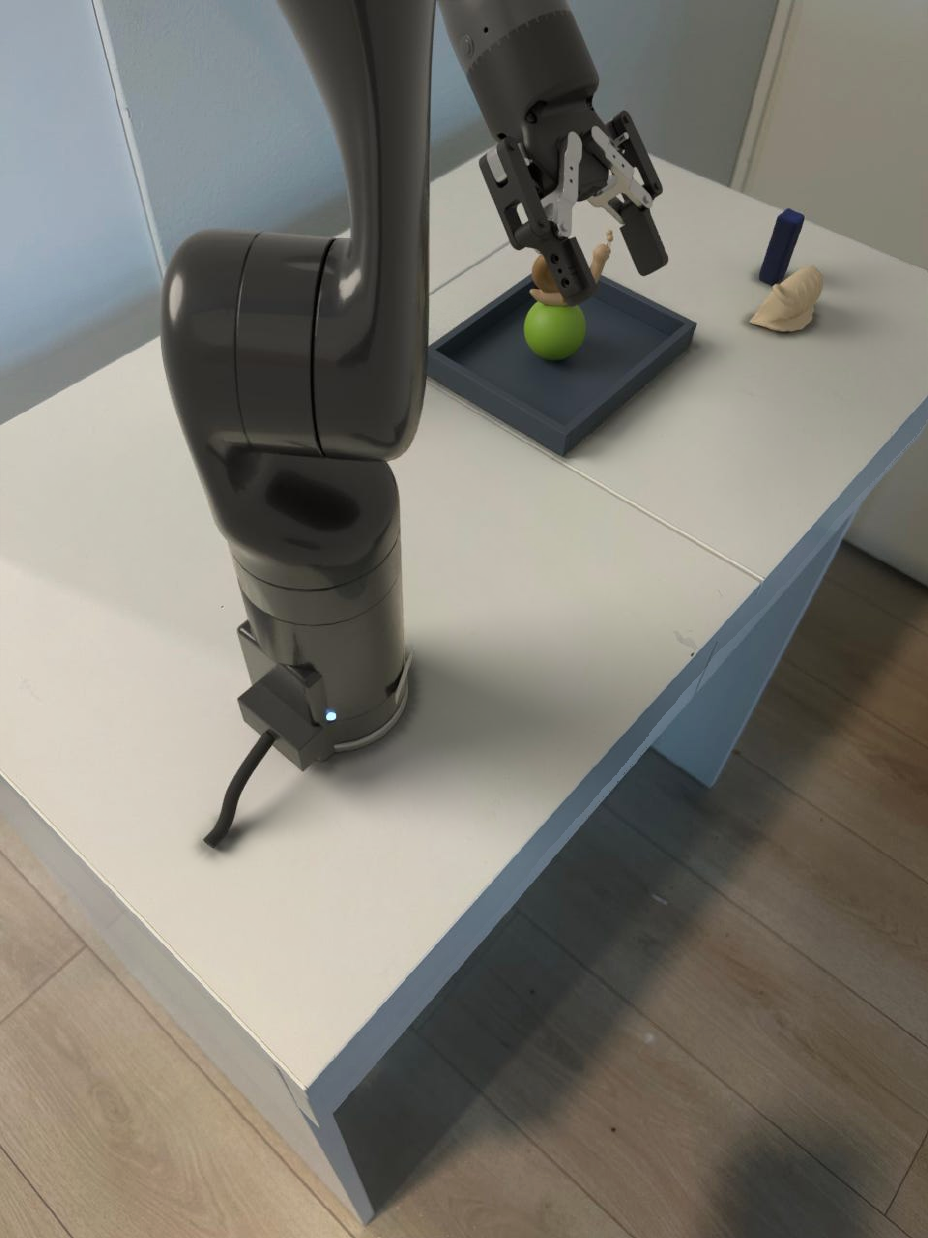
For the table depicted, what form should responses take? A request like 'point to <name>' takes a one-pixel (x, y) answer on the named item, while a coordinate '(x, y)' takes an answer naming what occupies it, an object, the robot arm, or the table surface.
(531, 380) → the tray
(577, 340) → the snail figurine
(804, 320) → the beige curved piece
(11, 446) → the table surface
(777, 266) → the eraser
